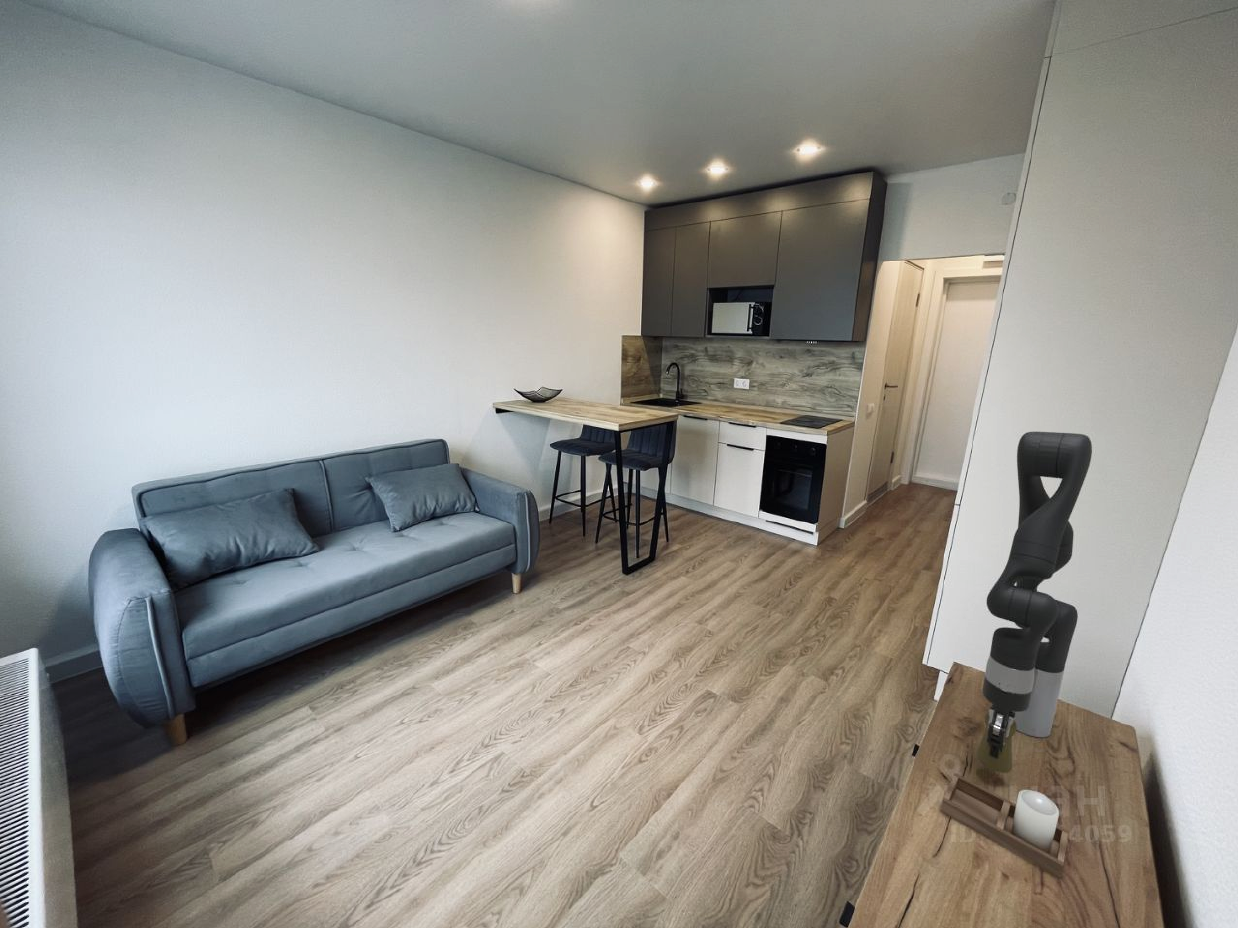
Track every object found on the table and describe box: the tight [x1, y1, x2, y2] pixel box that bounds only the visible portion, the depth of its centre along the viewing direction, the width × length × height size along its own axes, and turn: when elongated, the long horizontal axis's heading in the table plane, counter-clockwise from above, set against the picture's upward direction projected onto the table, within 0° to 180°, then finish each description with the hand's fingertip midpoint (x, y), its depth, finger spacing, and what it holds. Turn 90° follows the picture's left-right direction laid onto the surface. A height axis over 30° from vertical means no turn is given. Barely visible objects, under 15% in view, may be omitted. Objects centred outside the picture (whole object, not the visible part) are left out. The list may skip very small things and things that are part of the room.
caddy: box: [940, 773, 1069, 880], centre depth 92 cm, size 9×18×4 cm, turn 44°
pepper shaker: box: [975, 711, 1018, 774], centre depth 101 cm, size 6×6×11 cm
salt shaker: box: [1011, 789, 1060, 855], centre depth 88 cm, size 6×6×10 cm
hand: (995, 751), depth 102 cm, fingers closed on pepper shaker, 3 cm apart
